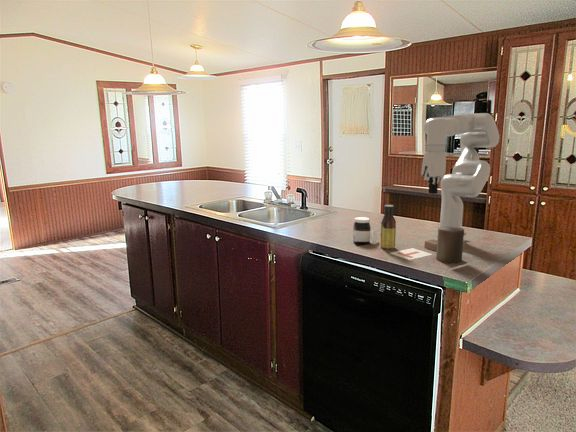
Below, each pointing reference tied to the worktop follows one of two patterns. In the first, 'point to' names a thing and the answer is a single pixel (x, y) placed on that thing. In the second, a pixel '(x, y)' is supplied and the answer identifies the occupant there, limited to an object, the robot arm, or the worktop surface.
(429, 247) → the walnut block
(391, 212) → the sauce bottle
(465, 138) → the robot arm
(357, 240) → the spread jar
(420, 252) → the board
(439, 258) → the brown cylindrical pedestal
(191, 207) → the worktop surface
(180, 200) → the worktop surface
